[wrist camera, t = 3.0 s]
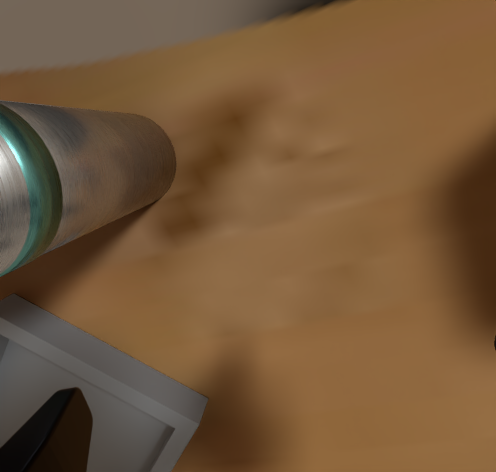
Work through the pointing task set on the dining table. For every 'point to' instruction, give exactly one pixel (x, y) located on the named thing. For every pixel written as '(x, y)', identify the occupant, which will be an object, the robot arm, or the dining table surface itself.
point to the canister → (73, 174)
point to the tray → (93, 391)
